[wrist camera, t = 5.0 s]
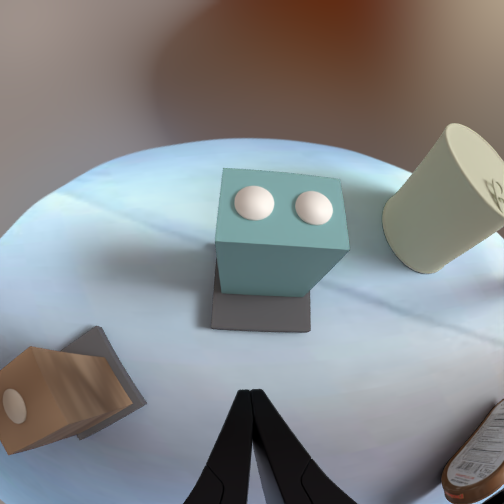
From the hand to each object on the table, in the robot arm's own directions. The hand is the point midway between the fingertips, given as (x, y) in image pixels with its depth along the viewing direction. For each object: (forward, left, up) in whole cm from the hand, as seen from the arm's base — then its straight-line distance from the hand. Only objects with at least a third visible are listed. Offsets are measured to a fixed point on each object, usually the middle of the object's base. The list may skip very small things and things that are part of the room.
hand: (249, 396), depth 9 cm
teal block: (+8, +1, -10) cm, 13 cm away
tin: (-4, -27, -11) cm, 29 cm away
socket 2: (+6, 0, -11) cm, 13 cm away
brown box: (-6, +10, -10) cm, 15 cm away
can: (+17, -14, -11) cm, 25 cm away
